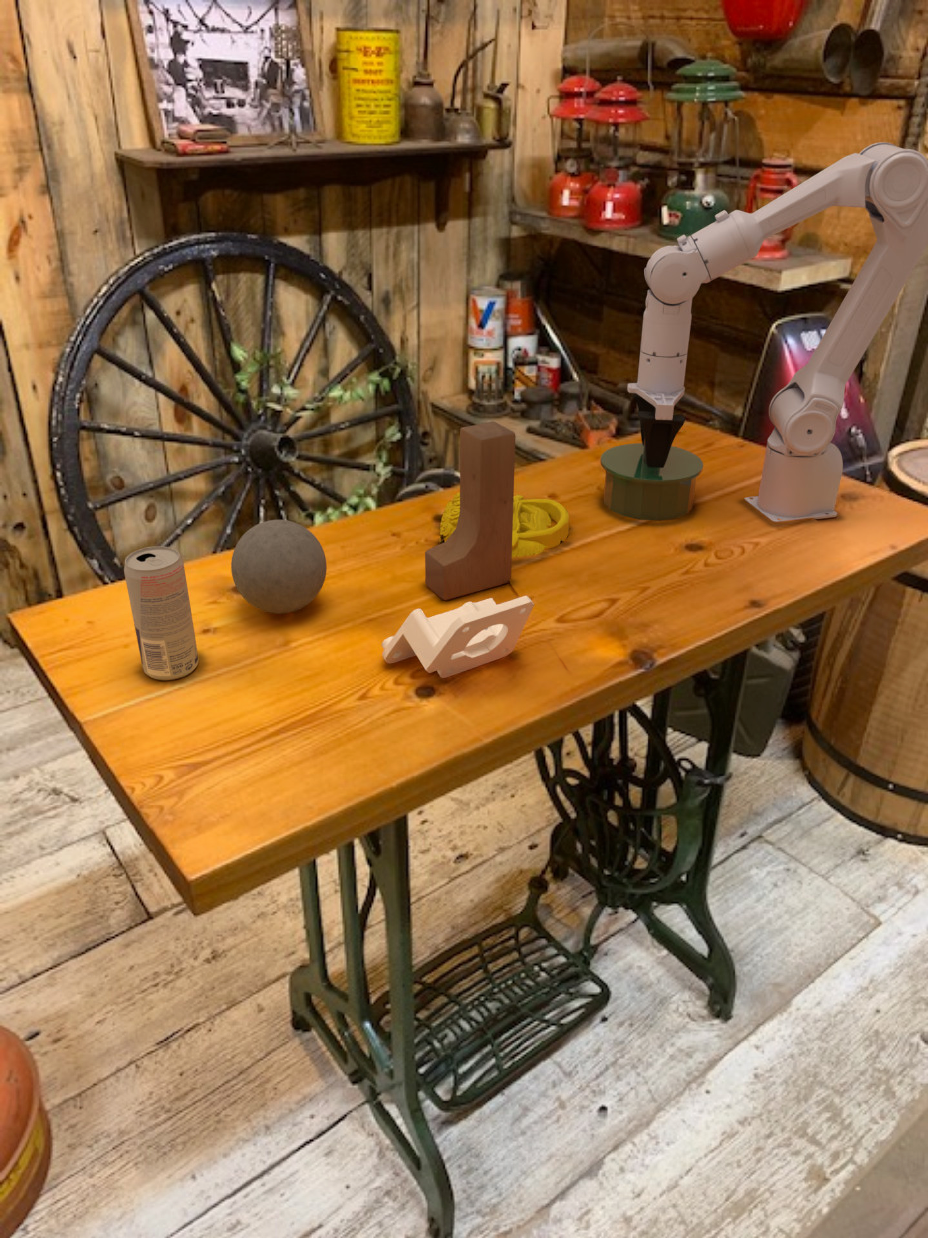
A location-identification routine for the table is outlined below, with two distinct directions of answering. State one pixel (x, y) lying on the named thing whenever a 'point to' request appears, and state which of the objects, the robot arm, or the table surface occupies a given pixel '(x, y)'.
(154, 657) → the energy drink
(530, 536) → the door knocker
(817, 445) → the robot arm
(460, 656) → the mounting bracket
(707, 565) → the table surface
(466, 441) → the wooden block
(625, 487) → the pot
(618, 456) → the lid
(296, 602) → the decorative ball
